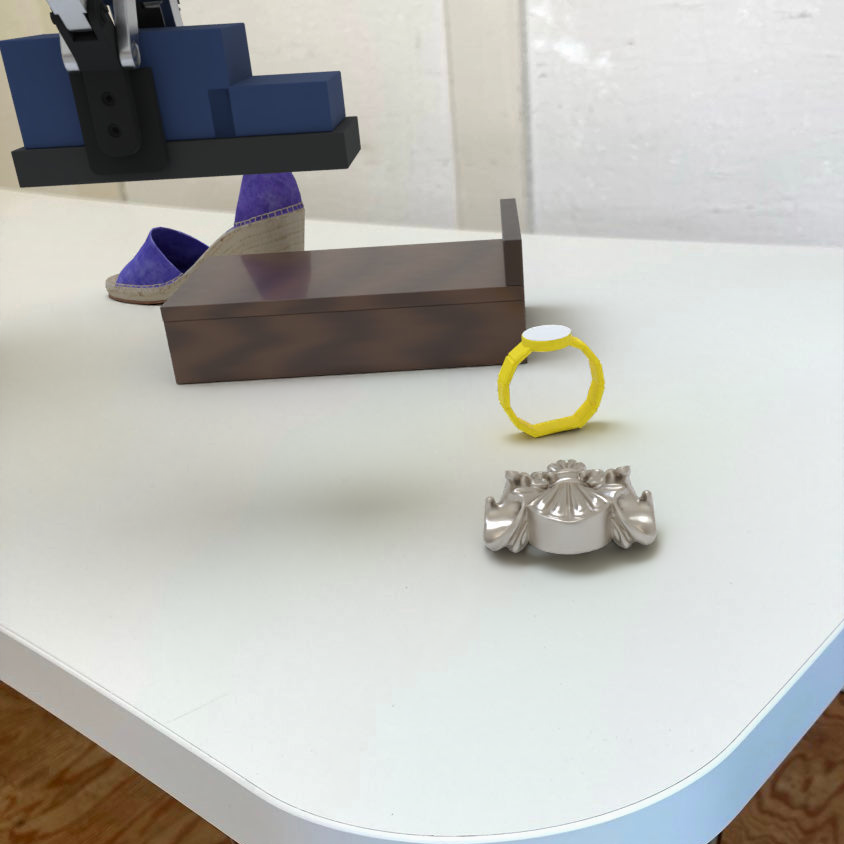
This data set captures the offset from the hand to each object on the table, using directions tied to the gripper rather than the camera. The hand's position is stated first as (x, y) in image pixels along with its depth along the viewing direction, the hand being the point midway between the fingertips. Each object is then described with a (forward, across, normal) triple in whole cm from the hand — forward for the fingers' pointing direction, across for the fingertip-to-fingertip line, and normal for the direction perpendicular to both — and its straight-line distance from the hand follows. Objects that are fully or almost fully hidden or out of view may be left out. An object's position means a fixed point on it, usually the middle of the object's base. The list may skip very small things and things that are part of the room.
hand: (151, 156), depth 47 cm
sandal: (+18, -42, -10) cm, 47 cm away
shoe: (+1, 0, +2) cm, 2 cm away
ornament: (+17, +6, +18) cm, 26 cm away
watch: (+17, -7, +18) cm, 26 cm away
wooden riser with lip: (+17, -26, +5) cm, 32 cm away
